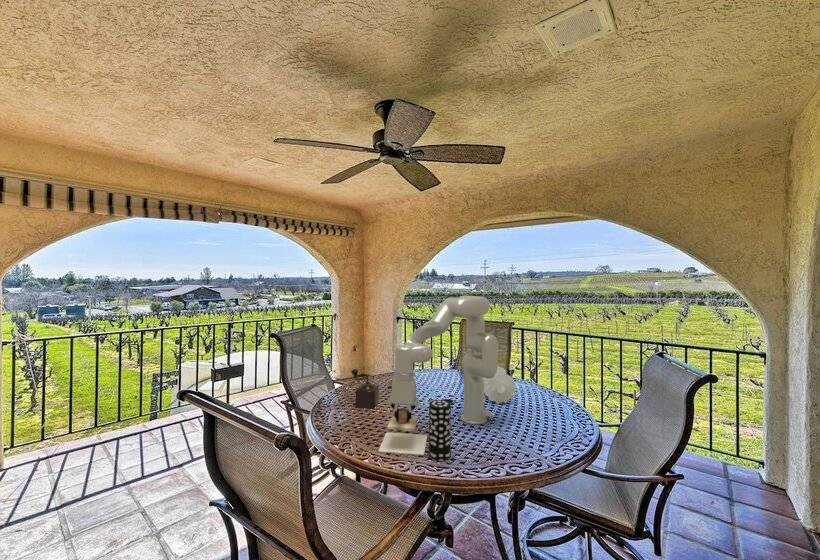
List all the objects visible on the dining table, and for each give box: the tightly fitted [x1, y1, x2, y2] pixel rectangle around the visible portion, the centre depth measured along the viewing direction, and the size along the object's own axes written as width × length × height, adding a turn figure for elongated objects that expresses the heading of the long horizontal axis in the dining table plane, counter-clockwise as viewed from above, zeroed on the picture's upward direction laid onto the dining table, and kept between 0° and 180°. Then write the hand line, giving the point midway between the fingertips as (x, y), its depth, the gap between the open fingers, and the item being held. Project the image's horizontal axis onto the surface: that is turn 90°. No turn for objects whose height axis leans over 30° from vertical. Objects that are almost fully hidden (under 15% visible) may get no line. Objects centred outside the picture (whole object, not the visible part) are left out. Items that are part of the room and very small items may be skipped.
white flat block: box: [377, 432, 428, 456], centre depth 139 cm, size 18×16×1 cm
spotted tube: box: [428, 399, 452, 462], centre depth 130 cm, size 8×8×20 cm
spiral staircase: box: [483, 365, 517, 405], centre depth 192 cm, size 18×18×25 cm
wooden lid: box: [386, 407, 418, 432], centre depth 139 cm, size 11×11×6 cm
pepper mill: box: [351, 368, 380, 410], centre depth 182 cm, size 16×11×18 cm
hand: (403, 419), depth 139 cm, fingers closed on wooden lid, 4 cm apart
